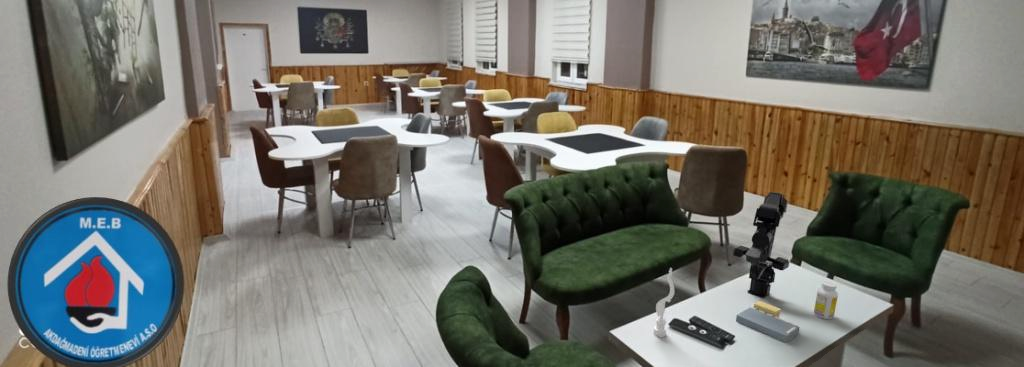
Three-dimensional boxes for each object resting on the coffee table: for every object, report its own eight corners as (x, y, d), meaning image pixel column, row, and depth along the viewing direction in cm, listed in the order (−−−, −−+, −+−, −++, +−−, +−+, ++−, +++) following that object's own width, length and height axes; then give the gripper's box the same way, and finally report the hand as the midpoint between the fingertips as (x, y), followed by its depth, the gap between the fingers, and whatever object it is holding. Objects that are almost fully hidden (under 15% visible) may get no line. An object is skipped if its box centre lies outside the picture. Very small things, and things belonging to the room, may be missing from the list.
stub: (752, 313, 208) (754, 303, 207) (757, 310, 210) (759, 300, 209) (773, 322, 202) (775, 312, 201) (778, 318, 205) (780, 309, 204)
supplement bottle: (831, 313, 210) (838, 281, 207) (835, 321, 204) (841, 289, 201) (811, 309, 213) (817, 278, 209) (814, 317, 206) (821, 286, 203)
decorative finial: (650, 332, 192) (657, 265, 186) (657, 328, 195) (665, 262, 188) (664, 339, 188) (672, 271, 181) (671, 336, 190) (680, 268, 184)
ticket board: (735, 320, 202) (736, 314, 201) (749, 312, 208) (750, 306, 208) (785, 342, 189) (786, 335, 188) (798, 333, 195) (799, 326, 195)
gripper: (728, 237, 206) (723, 276, 210) (780, 252, 193) (773, 293, 197) (742, 231, 213) (736, 268, 217) (793, 245, 200) (785, 285, 204)
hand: (757, 278), depth 209 cm, fingers closed
